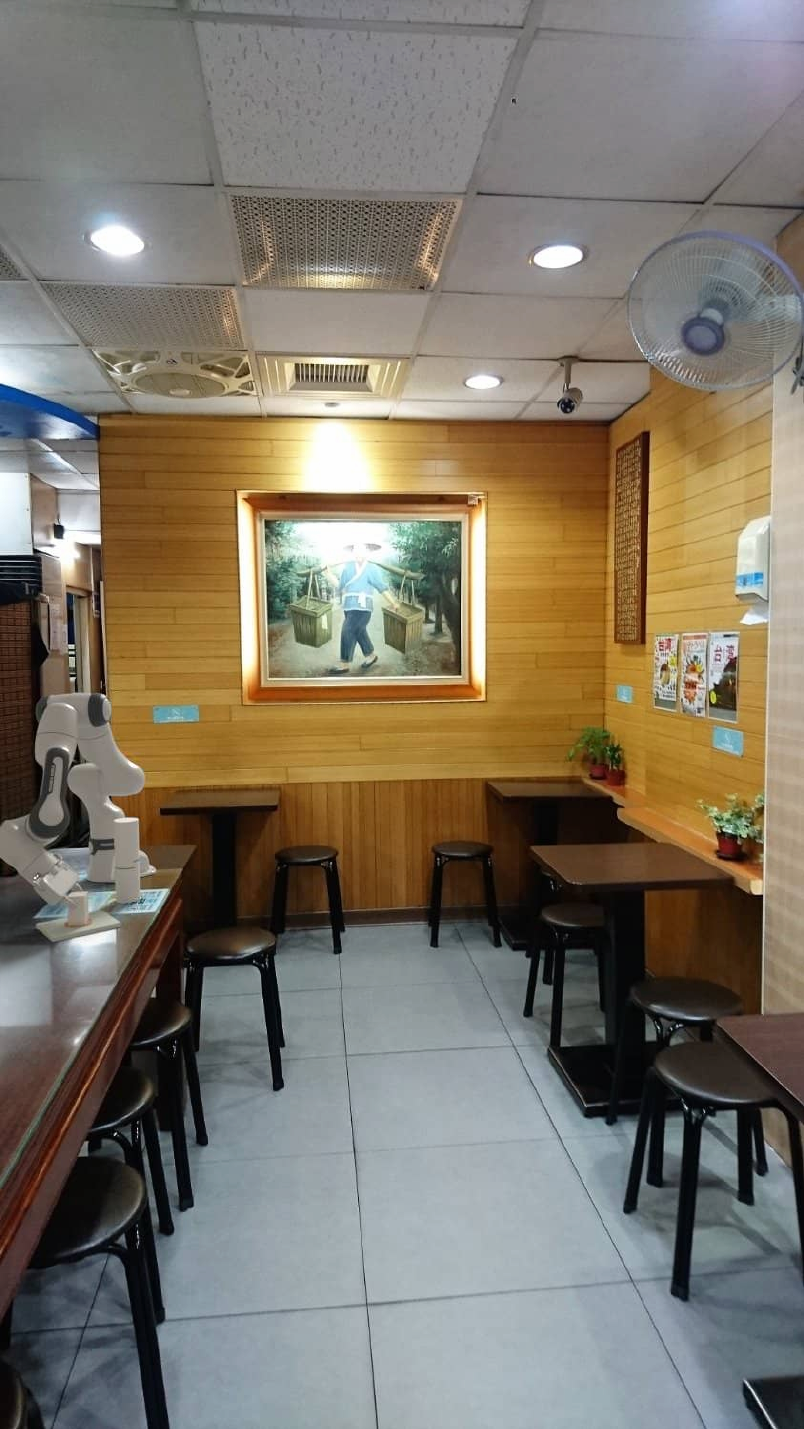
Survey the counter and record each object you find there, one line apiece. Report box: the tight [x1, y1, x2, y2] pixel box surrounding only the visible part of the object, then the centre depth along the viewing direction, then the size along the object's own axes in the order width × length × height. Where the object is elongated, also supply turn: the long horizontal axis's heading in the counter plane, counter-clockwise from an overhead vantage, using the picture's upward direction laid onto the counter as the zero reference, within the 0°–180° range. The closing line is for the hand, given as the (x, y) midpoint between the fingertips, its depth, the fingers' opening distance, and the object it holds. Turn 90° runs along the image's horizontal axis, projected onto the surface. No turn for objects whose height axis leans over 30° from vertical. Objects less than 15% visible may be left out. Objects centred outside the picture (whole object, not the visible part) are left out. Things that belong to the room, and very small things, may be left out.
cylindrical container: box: [114, 817, 141, 904], centre depth 238 cm, size 7×7×25 cm
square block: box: [67, 890, 90, 926], centre depth 215 cm, size 4×4×8 cm
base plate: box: [35, 909, 122, 943], centre depth 215 cm, size 18×14×6 cm
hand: (80, 902), depth 215 cm, fingers open, 8 cm apart
